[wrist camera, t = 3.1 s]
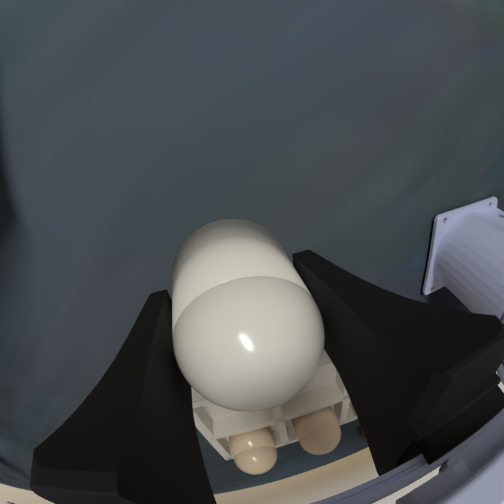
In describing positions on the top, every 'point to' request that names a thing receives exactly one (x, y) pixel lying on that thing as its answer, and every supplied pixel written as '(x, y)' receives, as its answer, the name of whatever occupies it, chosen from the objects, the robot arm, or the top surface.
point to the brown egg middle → (318, 431)
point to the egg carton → (275, 411)
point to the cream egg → (243, 318)
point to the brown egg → (254, 450)
